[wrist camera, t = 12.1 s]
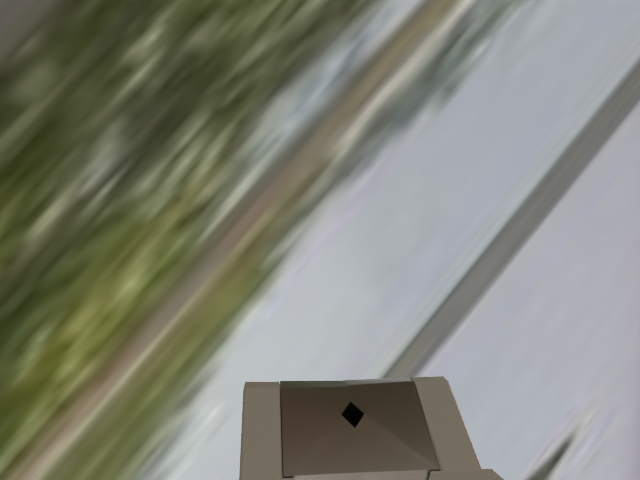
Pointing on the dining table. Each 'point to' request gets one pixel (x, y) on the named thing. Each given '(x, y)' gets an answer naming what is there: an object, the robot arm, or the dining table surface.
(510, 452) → the dining table surface
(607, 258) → the dining table surface
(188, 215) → the dining table surface
